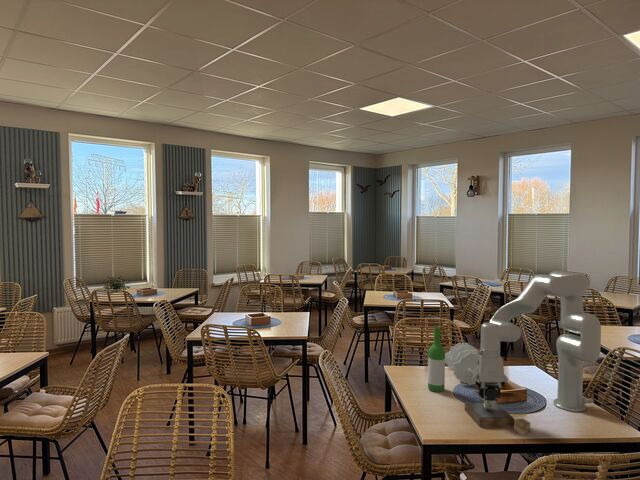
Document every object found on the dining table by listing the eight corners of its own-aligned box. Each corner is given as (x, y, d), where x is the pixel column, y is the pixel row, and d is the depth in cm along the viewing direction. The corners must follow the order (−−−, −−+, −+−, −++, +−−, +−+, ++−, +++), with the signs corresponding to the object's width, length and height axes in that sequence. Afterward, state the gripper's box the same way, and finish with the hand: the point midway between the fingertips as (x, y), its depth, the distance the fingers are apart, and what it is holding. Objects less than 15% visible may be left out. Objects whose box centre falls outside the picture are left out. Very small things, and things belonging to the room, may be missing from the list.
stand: (496, 409, 193) (496, 401, 193) (514, 426, 177) (514, 417, 177) (464, 410, 193) (464, 402, 193) (479, 426, 177) (479, 418, 177)
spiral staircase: (466, 379, 243) (483, 394, 218) (437, 364, 243) (450, 378, 218) (481, 348, 244) (499, 360, 219) (452, 334, 244) (467, 344, 219)
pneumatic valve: (484, 412, 180) (485, 383, 179) (480, 401, 191) (481, 373, 191) (499, 414, 179) (500, 384, 178) (493, 402, 190) (495, 374, 190)
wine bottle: (444, 387, 219) (445, 326, 218) (444, 393, 212) (445, 330, 211) (427, 386, 221) (428, 325, 220) (427, 391, 214) (428, 329, 213)
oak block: (522, 428, 176) (522, 418, 176) (530, 433, 172) (530, 422, 172) (513, 429, 175) (514, 419, 175) (521, 434, 171) (521, 424, 171)
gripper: (472, 356, 180) (472, 401, 181) (515, 356, 181) (514, 400, 181) (466, 351, 188) (465, 393, 188) (506, 350, 188) (505, 393, 189)
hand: (489, 396), depth 185 cm, fingers closed on pneumatic valve, 5 cm apart
